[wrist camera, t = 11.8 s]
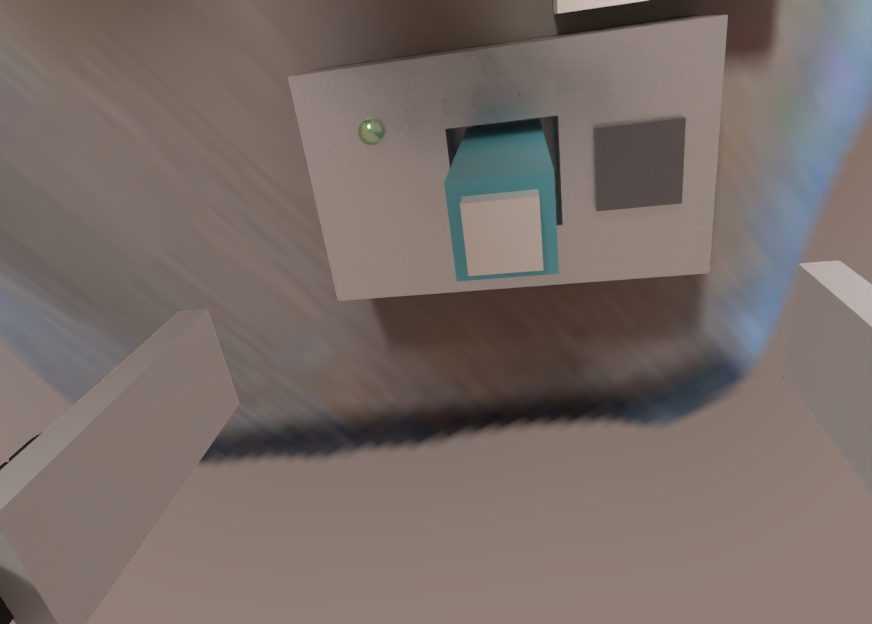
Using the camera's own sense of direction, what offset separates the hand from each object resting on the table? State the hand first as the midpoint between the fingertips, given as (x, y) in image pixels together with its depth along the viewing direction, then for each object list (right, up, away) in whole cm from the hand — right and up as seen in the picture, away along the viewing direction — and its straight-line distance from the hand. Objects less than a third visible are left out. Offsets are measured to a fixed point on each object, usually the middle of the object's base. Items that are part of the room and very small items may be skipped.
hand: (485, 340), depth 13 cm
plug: (+3, +9, +19) cm, 22 cm away
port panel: (+3, +10, +20) cm, 23 cm away
